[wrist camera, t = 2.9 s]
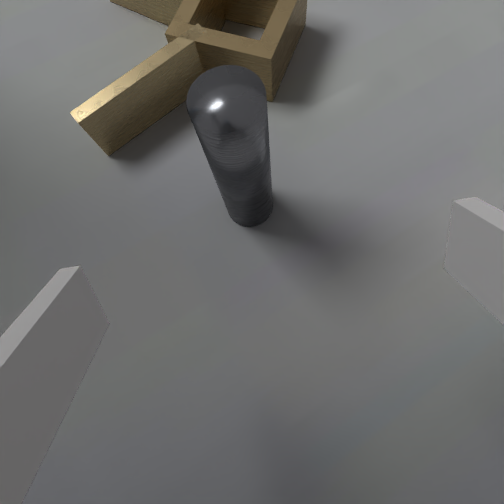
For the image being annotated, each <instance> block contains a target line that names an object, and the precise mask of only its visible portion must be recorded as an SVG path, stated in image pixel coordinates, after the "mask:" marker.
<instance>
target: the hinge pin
mask: <svg viewBox="0 0 504 504" xmlns="http://www.w3.org/2000/svg"><path fill="white" fill-rule="evenodd" d="M186 105H187V110H188V113H189V115H190V118H191V120H192V123H193V125H194V128H195V130H196V133H197V135H198V138H199V140H200V143H201V145H202V148H203V150H204V153H205V155H206V158H207V160H208V163H209V165H210V168H211V170H212V173H213V175H214V178H215V180H216V183H217V185H218V188H219V190H220V193H221V195H222V198H223V200H224V203H225V205H226V208H227V210H228V213H229V215H230V217H231V218H232V219H233V220H234V221H235V222H236V223H238V224H240V225H242V226H247V227H251V226H256V225H259V224H261V223H263V222H264V221H265V220H266V219H267V218H268V217H269V216H270V214H271V211H272V207H273V202H272V184H271V167H270V149H269V132H268V115H267V97H266V89H265V86H264V84H263V82H262V80H261V79H260V77H259V76H258V75H257V74H255V73H254V72H253V71H251V70H250V69H247V68H245V67H242V66H237V65H222V66H218V67H214V68H212V69H209V70H207V71H206V72H204V73H203V74H201V75H200V76H199V77H198V78H197V79H196V80H195V81H194V82H193V83H192V85H191V87H190V89H189V91H188V94H187V99H186Z"/></svg>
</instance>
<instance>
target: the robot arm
mask: <svg viewBox="0 0 504 504" xmlns="http://www.w3.org/2000/svg"><path fill="white" fill-rule="evenodd" d="M444 269H445V270H446V271H447V272H448V273H449V274H450V275H451V276H452V277H453V278H454V279H455V280H456V281H457V282H459V283H460V284H461V285H462V286H463V287H464V288H465V289H466V290H467V291H468V292H469V293H470V294H471V295H472V296H473V297H474V298H475V299H476V300H477V301H479V302H480V303H481V304H482V305H483V306H484V307H485V308H486V309H487V310H488V311H489V312H490V313H491V314H492V315H493V316H494V317H495V318H496V319H497V320H499V321H500V322H501V323H502V324H503V325H504V211H502V210H500V209H498V208H496V207H494V206H492V205H490V204H489V203H487V202H485V201H483V200H481V199H479V198H477V197H471V198H465V199H459V200H454V201H453V203H452V211H451V218H450V225H449V233H448V240H447V247H446V255H445V262H444ZM109 324H110V323H109V321H108V319H107V317H106V315H105V313H104V311H103V309H102V307H101V305H100V303H99V301H98V299H97V297H96V295H95V293H94V291H93V289H92V287H91V285H90V283H89V281H88V279H87V277H86V275H85V273H84V271H83V269H82V267H81V265H79V266H73V267H68V268H62V269H59V270H58V272H57V273H56V274H55V275H54V276H53V277H52V278H51V280H50V281H49V282H48V283H47V284H46V285H45V286H44V288H43V289H42V290H41V291H40V292H39V293H38V295H37V296H36V297H35V298H34V299H33V300H32V301H31V303H30V304H29V305H28V306H27V307H26V308H25V309H24V311H23V312H22V313H21V314H20V315H19V316H18V317H17V319H16V320H15V321H14V322H13V323H12V324H11V326H10V327H9V328H8V329H7V330H6V331H5V332H4V334H3V335H2V336H1V337H0V504H22V502H23V500H24V498H25V496H26V494H27V492H28V490H29V488H30V486H31V484H32V482H33V480H34V478H35V476H36V474H37V471H38V469H39V467H40V465H41V463H42V461H43V459H44V457H45V455H46V453H47V451H48V449H49V447H50V445H51V443H52V441H53V439H54V437H55V435H56V433H57V431H58V428H59V426H60V424H61V422H62V420H63V418H64V416H65V414H66V412H67V410H68V408H69V406H70V404H71V402H72V400H73V398H74V396H75V394H76V392H77V390H78V388H79V385H80V383H81V381H82V379H83V377H84V375H85V373H86V371H87V369H88V367H89V365H90V363H91V361H92V359H93V357H94V355H95V353H96V351H97V349H98V347H99V344H100V342H101V340H102V338H103V336H104V334H105V332H106V330H107V328H108V326H109Z"/></svg>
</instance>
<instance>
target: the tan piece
mask: <svg viewBox="0 0 504 504" xmlns="http://www.w3.org/2000/svg"><path fill="white" fill-rule="evenodd" d="M110 1H111V2H113V3H116V4H118V5H120V6H123V7H125V8H128V9H130V10H132V11H135V12H137V13H139V14H142V15H144V16H147V17H149V18H151V19H154V20H156V21H158V22H161V23H163V24H166V25H168V26H169V27H168V29H167V31H166V33H165V35H166V38H167V41H168V43H169V44H167V45H166V46H165V47H163V48H162V49H160V50H159V51H157V52H156V53H155V54H153V55H152V56H150V57H149V58H147V59H146V60H144V61H143V62H142V63H140V64H139V65H137V66H136V67H134V68H133V69H132V70H130V71H129V72H127V73H126V74H124V75H123V76H122V77H120V78H119V79H117V80H116V81H114V82H113V83H112V84H110V85H109V86H107V87H106V88H104V89H103V90H101V91H100V92H99V93H97V94H96V95H94V96H93V97H91V98H90V99H89V100H87V101H86V102H84V103H83V104H81V105H80V106H79V107H77V108H76V109H74V110H73V111H71V112H70V113H71V115H72V116H73V117H74V119H75V120H76V121H77V122H78V124H79V125H80V126H81V127H82V128H83V129H84V130H85V131H86V132H87V133H88V134H89V135H90V137H91V138H92V139H93V140H94V141H95V142H96V143H97V144H98V145H99V146H100V147H101V149H102V150H103V151H104V152H105V153H106V154H107V155H108V156H109V155H111V154H112V153H114V152H115V151H116V150H118V149H119V148H120V147H122V146H123V145H125V144H126V143H127V142H129V141H130V140H131V139H133V138H134V137H136V136H137V135H138V134H140V133H141V132H143V131H144V130H145V129H147V128H148V127H149V126H151V125H152V124H154V123H155V122H156V121H158V120H159V119H160V118H162V117H163V116H165V115H166V114H167V113H169V112H170V111H171V110H173V109H174V108H176V107H177V106H178V105H180V104H181V103H183V102H184V101H185V100H186V99H187V94H188V91H189V89H190V87H191V85H192V83H193V82H194V81H195V80H196V79H197V78H198V77H199V76H200V75H201V74H203V73H204V72H206V71H207V70H209V69H212V68H214V67H218V66H222V65H237V66H242V67H245V68H247V69H250V70H251V71H253V72H254V73H255V74H257V75H258V76H259V77H260V79H261V80H262V82H263V84H264V86H265V89H266V97H267V101H270V102H273V100H274V97H275V95H276V93H277V90H278V88H279V86H280V83H281V81H282V79H283V76H284V74H285V71H286V69H287V67H288V64H289V62H290V60H291V57H292V55H293V53H294V50H295V48H296V45H297V43H298V41H299V38H300V36H301V34H302V31H303V29H304V27H305V22H306V9H307V0H110ZM226 20H229V21H234V22H238V23H243V24H247V25H251V26H256V27H260V28H265V31H264V33H263V35H262V37H261V39H260V40H256V39H251V38H247V37H243V36H238V35H234V34H230V33H225V32H221V29H222V27H223V25H224V23H225V21H226Z"/></svg>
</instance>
